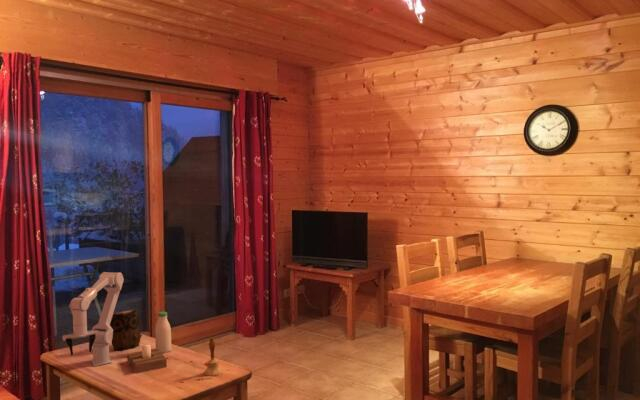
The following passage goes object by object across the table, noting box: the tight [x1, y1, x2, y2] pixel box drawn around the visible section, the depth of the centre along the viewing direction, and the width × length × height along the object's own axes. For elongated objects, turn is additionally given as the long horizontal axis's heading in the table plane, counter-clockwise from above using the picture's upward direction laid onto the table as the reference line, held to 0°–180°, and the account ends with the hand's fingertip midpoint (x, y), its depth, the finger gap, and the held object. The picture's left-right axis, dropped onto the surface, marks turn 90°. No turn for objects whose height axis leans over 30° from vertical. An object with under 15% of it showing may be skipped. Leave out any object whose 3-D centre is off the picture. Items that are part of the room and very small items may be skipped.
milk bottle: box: [154, 311, 172, 354], centre depth 269 cm, size 8×8×20 cm
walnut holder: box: [127, 347, 168, 374], centre depth 250 cm, size 18×14×4 cm
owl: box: [110, 308, 142, 352], centre depth 275 cm, size 13×13×20 cm
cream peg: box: [141, 344, 152, 359], centre depth 250 cm, size 4×4×9 cm
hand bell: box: [203, 337, 223, 377], centre depth 238 cm, size 8×8×16 cm
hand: (81, 353), depth 240 cm, fingers open, 7 cm apart
